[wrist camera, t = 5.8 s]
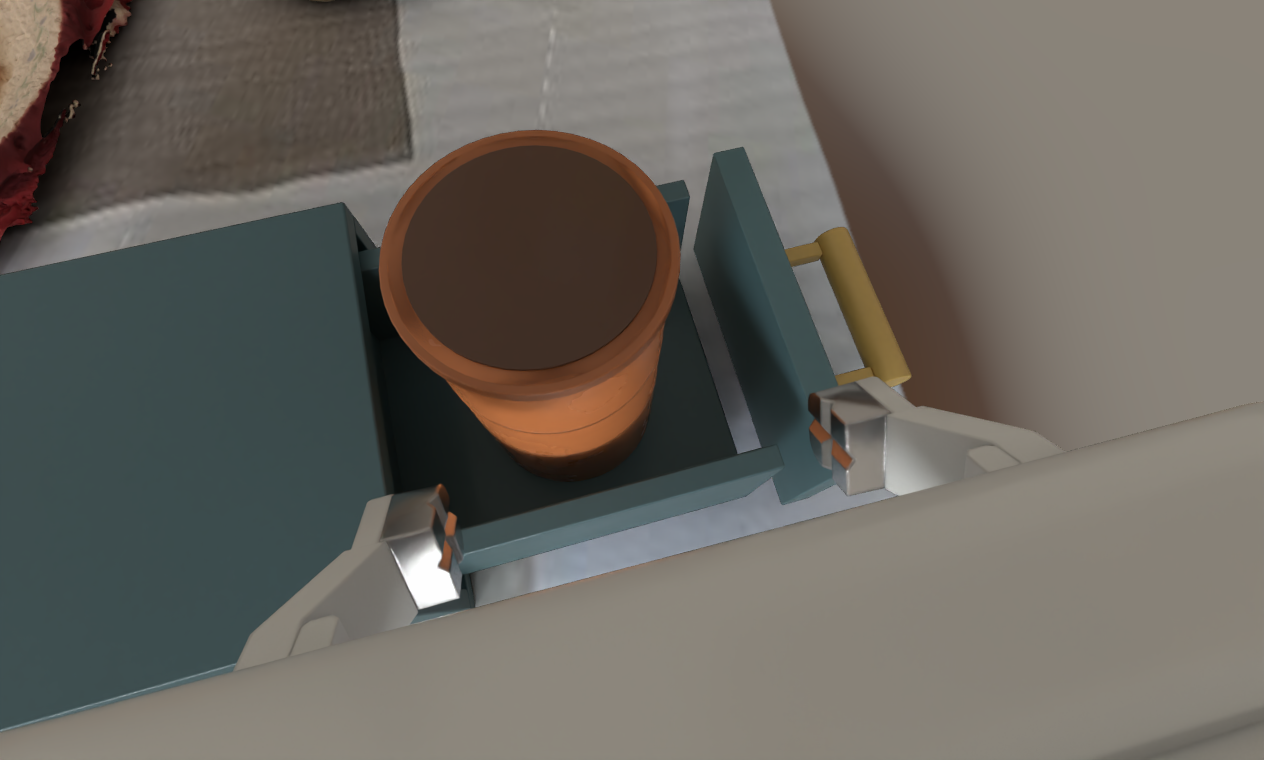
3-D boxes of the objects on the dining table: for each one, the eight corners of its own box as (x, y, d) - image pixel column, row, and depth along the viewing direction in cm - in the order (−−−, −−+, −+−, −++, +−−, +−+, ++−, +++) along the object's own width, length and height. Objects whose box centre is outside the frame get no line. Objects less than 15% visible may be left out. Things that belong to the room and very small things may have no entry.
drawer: (796, 224, 30) (844, 123, 23) (897, 472, 26) (989, 434, 19) (366, 325, 28) (289, 244, 21) (408, 610, 24) (330, 617, 17)
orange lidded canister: (674, 460, 25) (720, 349, 13) (505, 505, 24) (401, 430, 13) (629, 309, 27) (635, 102, 16) (472, 347, 26) (358, 159, 15)
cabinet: (421, 310, 29) (343, 200, 21) (475, 608, 25) (404, 618, 17) (22, 403, 27) (-235, 323, 19) (8, 741, 23) (-327, 824, 15)
